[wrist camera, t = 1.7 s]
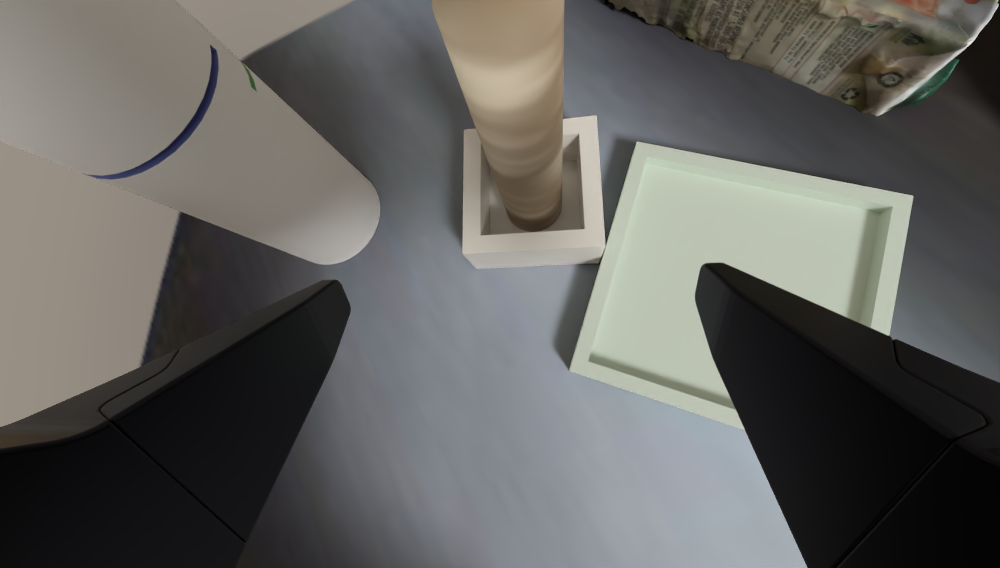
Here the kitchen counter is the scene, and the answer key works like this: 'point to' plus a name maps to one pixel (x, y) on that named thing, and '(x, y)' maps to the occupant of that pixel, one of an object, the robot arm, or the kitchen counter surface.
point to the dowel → (513, 96)
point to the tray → (736, 242)
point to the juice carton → (834, 41)
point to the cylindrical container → (175, 123)
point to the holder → (560, 244)
